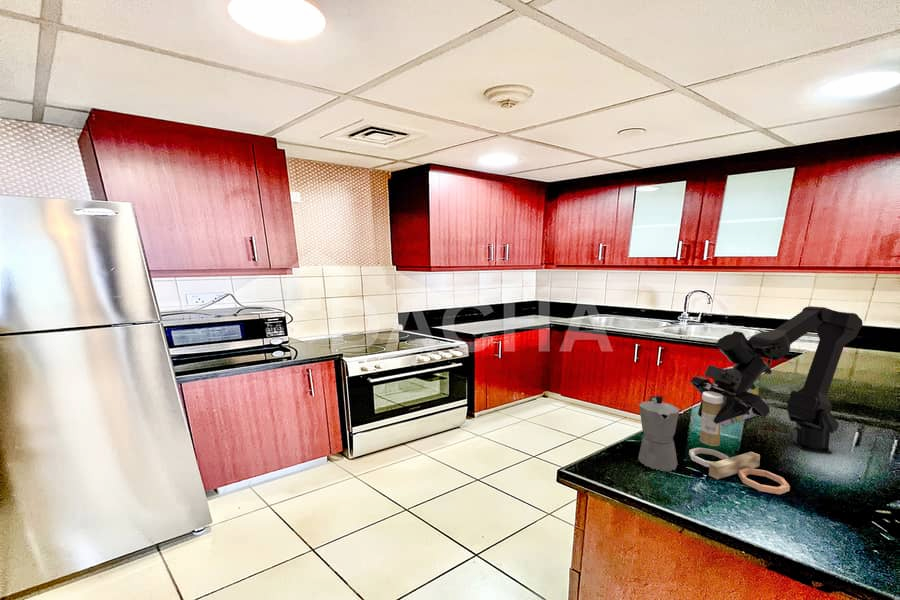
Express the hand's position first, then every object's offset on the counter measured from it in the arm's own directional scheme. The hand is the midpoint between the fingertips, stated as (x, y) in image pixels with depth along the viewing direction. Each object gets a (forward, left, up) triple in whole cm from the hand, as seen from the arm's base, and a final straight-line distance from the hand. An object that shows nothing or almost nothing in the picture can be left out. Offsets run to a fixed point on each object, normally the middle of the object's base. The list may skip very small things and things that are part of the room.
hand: (706, 419), depth 98 cm
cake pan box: (-15, -36, -12) cm, 40 cm away
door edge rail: (-6, +3, -11) cm, 13 cm away
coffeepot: (+12, +5, -12) cm, 17 cm away
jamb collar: (-1, -1, -11) cm, 11 cm away
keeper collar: (-10, +7, -11) cm, 17 cm away
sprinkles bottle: (-1, -1, -7) cm, 7 cm away
